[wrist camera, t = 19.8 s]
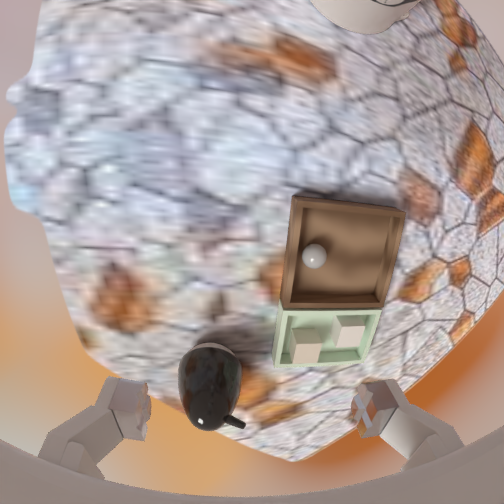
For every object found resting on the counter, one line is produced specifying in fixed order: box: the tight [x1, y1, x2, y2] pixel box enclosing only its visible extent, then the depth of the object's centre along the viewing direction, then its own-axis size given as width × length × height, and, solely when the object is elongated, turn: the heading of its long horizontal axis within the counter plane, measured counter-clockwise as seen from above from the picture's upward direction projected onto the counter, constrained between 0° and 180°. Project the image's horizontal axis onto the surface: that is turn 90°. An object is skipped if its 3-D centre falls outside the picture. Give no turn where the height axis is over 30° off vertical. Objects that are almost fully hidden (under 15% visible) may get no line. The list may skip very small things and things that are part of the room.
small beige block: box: [329, 315, 365, 348], centre depth 44 cm, size 4×4×4 cm
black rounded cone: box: [178, 343, 246, 431], centre depth 40 cm, size 10×10×15 cm
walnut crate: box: [280, 196, 406, 308], centre depth 40 cm, size 15×16×4 cm
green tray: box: [272, 299, 382, 368], centre depth 45 cm, size 11×16×4 cm
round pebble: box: [302, 244, 327, 269], centre depth 39 cm, size 3×3×3 cm
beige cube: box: [288, 328, 322, 364], centre depth 44 cm, size 4×4×4 cm
